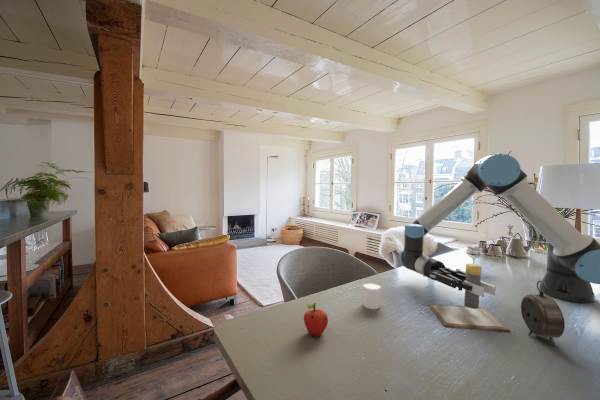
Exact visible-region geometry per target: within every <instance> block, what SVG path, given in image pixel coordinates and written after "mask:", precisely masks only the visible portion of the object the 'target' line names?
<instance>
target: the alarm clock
mask: <svg viewBox="0 0 600 400" xmlns="http://www.w3.org/2000/svg"><path fill="white" fill-rule="evenodd" d="M541 282H543V281H542V280H538V281H537V283H536V288H537V290H538V292H539V294H536V293H535V294H533V293H531V294H526V295H524V297H523V298H522V299H521V303H520V312H521V316H522V319H523V321H524V324H525V325H526V327H527V328H528V329H529V333H528V336H529V337H530V336H531V335H532V334H534V335H535V336H538V337H541V338H542V337H543V338H548V339H549V341H550V343H551V346H552V347H553V348H556V345H555V341H554V339H557V338H560V337H561V336H562V335H563V334H564V332H565V318H564V314H563V312H562V310H561V308H560V306H559V305H558V303H557V302H556V301H555V300H554V298H552V296H550V295H547V294H545V292H546V290H547V286H546V284H545V282H543V283H544V285H545V291H542V290H540V287H539V284H540V283H541Z"/></svg>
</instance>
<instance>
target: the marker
mask: <svg viewBox="0 0 600 400" xmlns="http://www.w3.org/2000/svg"><path fill="white" fill-rule="evenodd" d="M465 272H466V281H468V282H470V283H473V284H475V285H478V286H480V281H481V280H482V279H481V278H482V266H481V265H479V264H476V263H474V264H473V263H466V264H465ZM463 303H464V304H463V306H466V307H468V308H472V309H478V308H479V307H480V296H479V295H476V294H474V293H472V292H469V291H467V290H465V289H464V302H463Z"/></svg>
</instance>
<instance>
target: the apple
mask: <svg viewBox="0 0 600 400" xmlns="http://www.w3.org/2000/svg"><path fill="white" fill-rule="evenodd" d="M316 305H317V303H316V302H313V303H312V304H308V305H307V306H306V307H307V308H308V309H309V310H307V311H305V312H304V314H303V322H304V326H305V328H306V331H307V332H308V334H309V335H310V336H312V337H320V336H321V335H322V334H323V333H324V332H325V330H326V328H327V327H328V322H329V317H328V314H327V313H326V312H325V311H326V310H323V309H316Z"/></svg>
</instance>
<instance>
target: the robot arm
mask: <svg viewBox="0 0 600 400" xmlns="http://www.w3.org/2000/svg"><path fill="white" fill-rule="evenodd" d="M487 188H488V189H489V191H491V193H492V194H494V195H495V197H496V196H497V197H503V199H505V200H506V201H507V202H508V203H509V204H510V205H511V206H512V207H513V208H514V209H515V210H516V212H518V213H519V214H520V215H521V216H522V217H523V218H524V219H525V220H526V221H527V222H528V223H529V225H531V226H532V227H533V228H534V229H535V230H536V231H537V232H538V234H540V235H541V236H542V237H543V238H544V239H545V240H546V241H547V257H546V272H545V274H544V276H543V278H542V279H541V281H543V282H545V284H546V286H547V290H546V292H545V293H544V295H548V296H549V297H553V298H557V299H560V300H563V301H569V302H575V303H580V304H581V303H584V304H591V303H594V302H595V299H596V298H595V297H596V295H595V293H594V290H593V286H592V285H591V284H595V285H600V242H598V241H597V240H596V239H595V238H594V237H593V236H592V235H590V234H583V233H581V232H580V231H579V230H578V229H577V228H576V227H575V226H574V225H572V223H570V221H568V220H567V219H566V218H565V216H563V215H562V213H560V212H559V211H558V209H556V208H555V207H554V206H552V204H551V203H550V202H549V201H548V200H547V199H545V198H544V197H543V195H541V194H540V193H539V191H537V190H536V189H535V188H534V187H533V186H532V185H531V184H530V183H529V182H528V174H527V173H525V171H523V169H521V164H520V163H519V161H518V160H517V159H516V157H513V156H512V155H510V154H507V153H506V154H505V153H492V154H489V155H486V156H485V157H483V158H480V159H479V160H478V161H476V162H475V164H474V165H472V166H471V168H470V169H469V170H468V171H467V172H466V173H465V174H463V175H462V177H461V178H460V182H458V183H457V184H456V185H455V186H453V188H452V189H450V190H449V191H448V192H446V193H445V194H444V195H443V196H442V197H441V198H440V199H439V200H437V201H436V202H435V203H433V205H432V206H430V207H429V208H428V209H427V210H426V211H425V212H423V214H421V215H419V217H418V218H417V219H415V220H414V221H412V223H407V224H405V226H404V231H403V232H404V233H403V234H404V236H403V237H404V238H403V239H404V240H403V241H404V242H403V244H404V245H403V250H401V251H400V252H399V254H398V256H397V260H398V263H399V265H401V266H402V267H404V268H406V269H407V270H410V271H413V272H415V273H417V274H420V275H421V276H423V277H424V278H425V277H426V278H427V279H430V280H432V281H436V282H438V283H441V284H443V285H446V286H447V287H450V288H453V289H458V291H459V292H460V291H463V290H464V291H465V290H467V291H469V292H472V293H474V294H476V295H479V297H480V298H484V297H485V293H486V294H489V295H492V296H496V291H497V290H496V288H497V287H496V286H495V285H492V284H490V283H487V282H485V281H481V280H480V286H478V285H475V284H473V283H470V282H468V281H466V271H462V270H461V269H459V268H455V270H453V269H451V268H449V267H446V265H445V264H444V263H443V262H442V261H440V260H437V259H434V258H432V257H430V256H426V255H424V241H425V239H424V238H425V237H424V236H426V235H427V234H428V233H429V232H430V231H431V230H432V229H434V228H436V227H437V225H439V224H440V223H442V221H444V220H445V219H446V218H447V217H448V216H450V215H451V214H453V213H454V211H456V210H457V209H459V207H461V206H462V205H463V204H464V203H466V202H467V201H468V200H469V199H470V198H471V197H473V196H475V194H480V193H482V192H483V191H484V190H485V189H487ZM543 282H539V290H542V291H545V285H544V283H543Z"/></svg>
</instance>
